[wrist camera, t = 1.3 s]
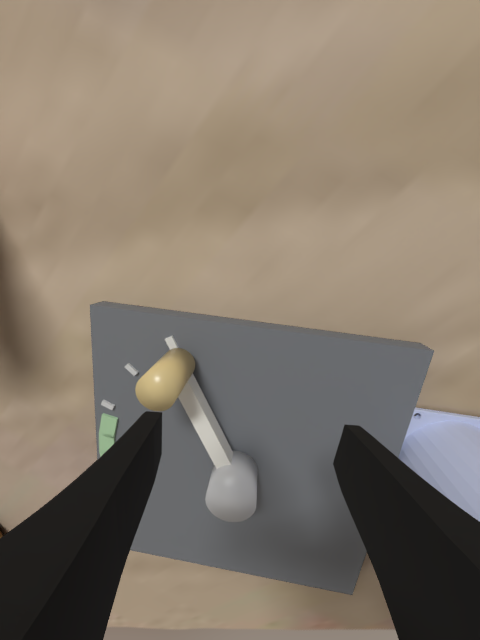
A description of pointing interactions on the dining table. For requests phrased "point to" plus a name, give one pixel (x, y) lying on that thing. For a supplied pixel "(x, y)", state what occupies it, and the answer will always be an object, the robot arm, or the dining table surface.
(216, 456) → the dial pointer
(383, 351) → the dial board
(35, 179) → the dining table surface
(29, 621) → the robot arm
